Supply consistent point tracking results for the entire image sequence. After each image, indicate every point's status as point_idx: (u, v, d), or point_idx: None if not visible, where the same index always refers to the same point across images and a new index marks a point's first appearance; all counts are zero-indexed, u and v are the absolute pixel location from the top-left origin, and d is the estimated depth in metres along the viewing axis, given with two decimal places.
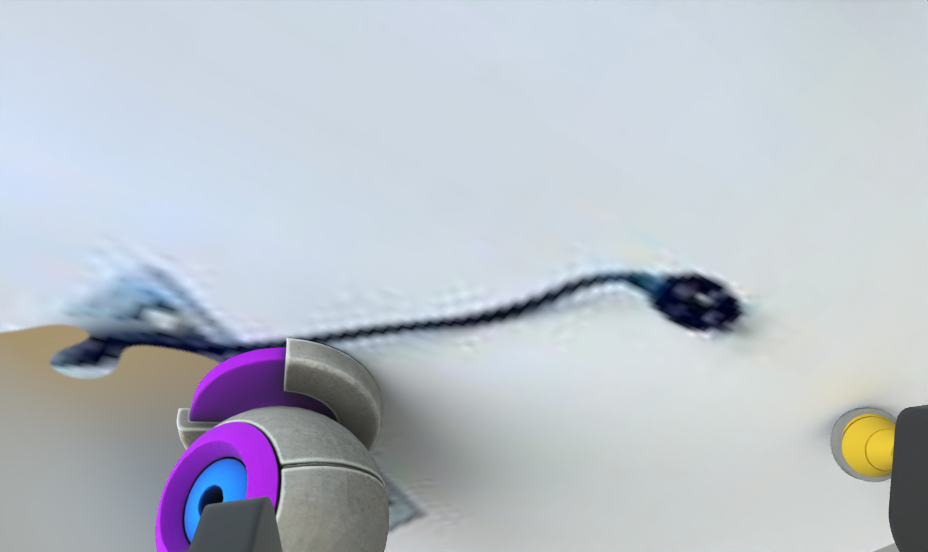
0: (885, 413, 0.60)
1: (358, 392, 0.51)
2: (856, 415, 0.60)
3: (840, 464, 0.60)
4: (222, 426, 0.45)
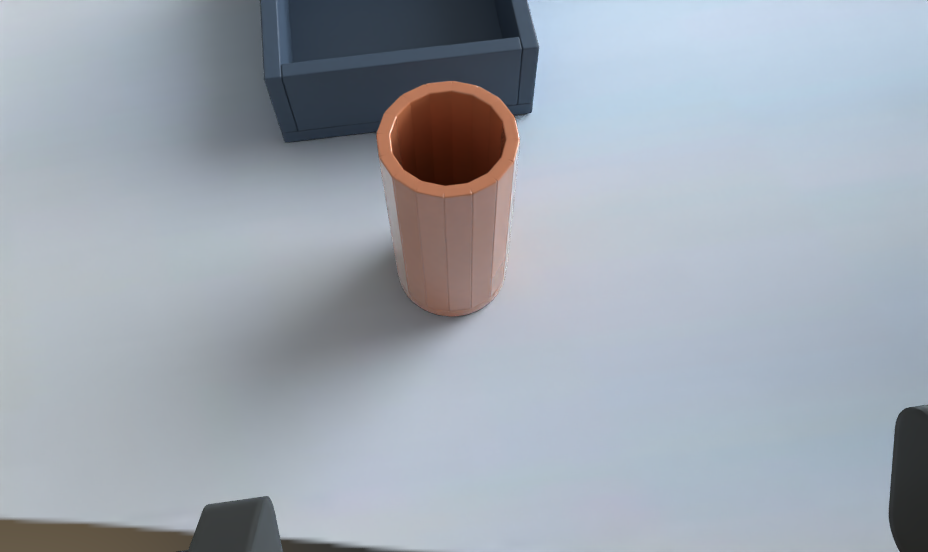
0: None
1: None
2: None
3: None
4: None
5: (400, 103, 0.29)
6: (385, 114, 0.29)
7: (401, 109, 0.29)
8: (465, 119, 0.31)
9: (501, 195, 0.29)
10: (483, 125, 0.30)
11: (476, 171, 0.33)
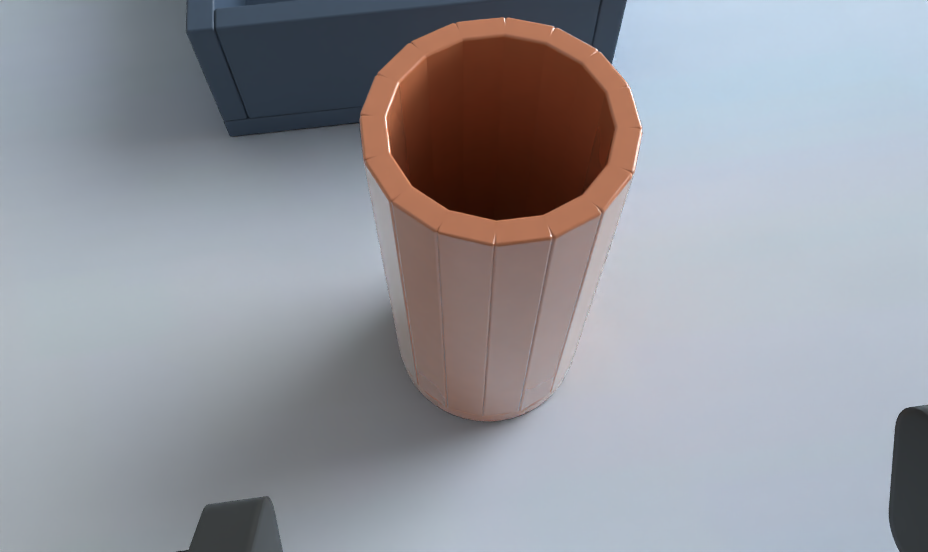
0: None
1: None
2: None
3: None
4: None
5: (407, 57, 0.15)
6: (378, 78, 0.15)
7: (408, 68, 0.15)
8: (526, 92, 0.17)
9: (601, 237, 0.15)
10: (560, 104, 0.16)
11: (536, 186, 0.19)
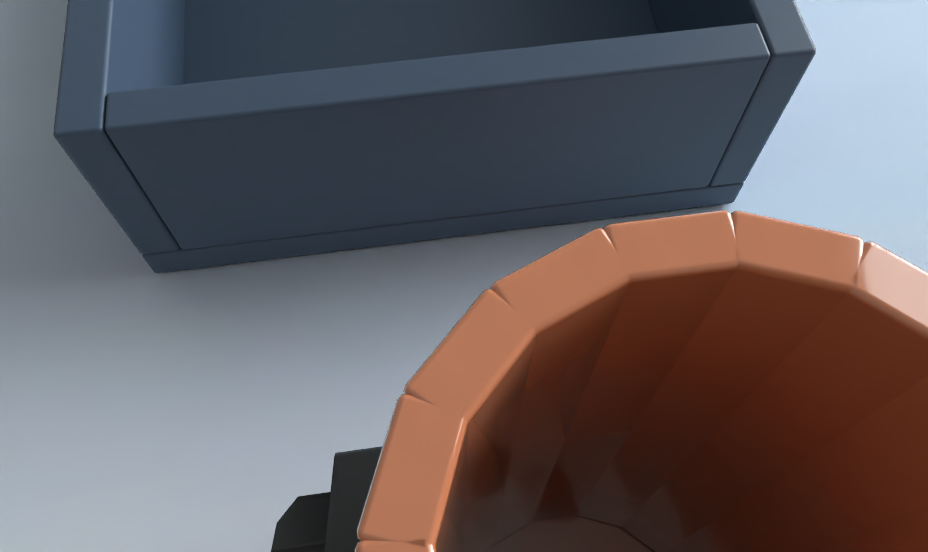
0: None
1: None
2: None
3: None
4: None
5: (486, 337, 0.06)
6: (407, 404, 0.05)
7: (487, 372, 0.05)
8: (748, 359, 0.07)
9: None
10: (838, 396, 0.07)
11: (706, 470, 0.10)
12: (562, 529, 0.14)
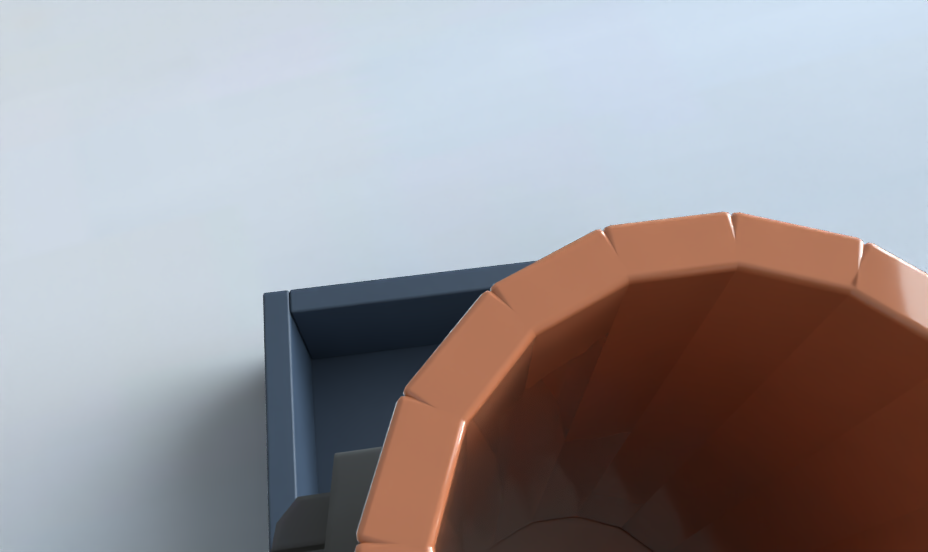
0: None
1: None
2: None
3: None
4: None
5: (485, 339, 0.06)
6: (407, 406, 0.05)
7: (489, 374, 0.05)
8: (748, 360, 0.07)
9: None
10: (840, 398, 0.07)
11: (706, 472, 0.10)
12: (562, 530, 0.14)
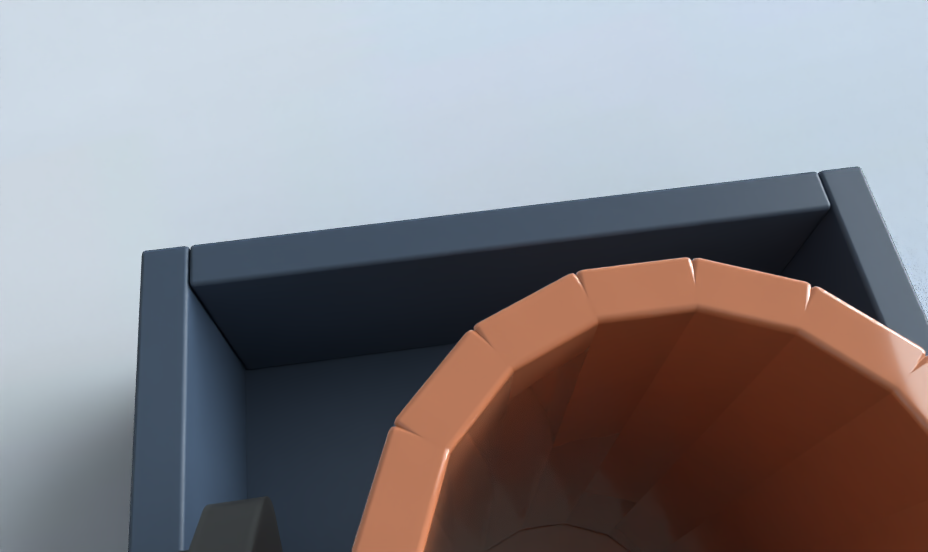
0: None
1: None
2: None
3: None
4: None
5: (468, 374, 0.06)
6: (397, 435, 0.06)
7: (470, 406, 0.06)
8: (712, 387, 0.08)
9: None
10: (793, 423, 0.07)
11: (682, 485, 0.10)
12: (551, 536, 0.15)
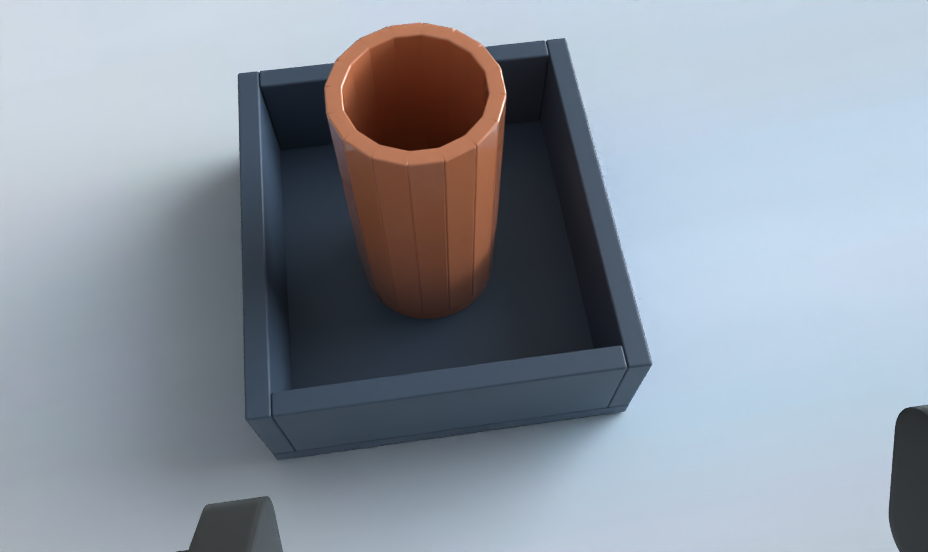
0: None
1: None
2: None
3: None
4: None
5: (356, 49, 0.23)
6: (337, 62, 0.23)
7: (356, 56, 0.23)
8: (440, 73, 0.25)
9: (482, 165, 0.23)
10: (462, 80, 0.24)
11: None
12: None
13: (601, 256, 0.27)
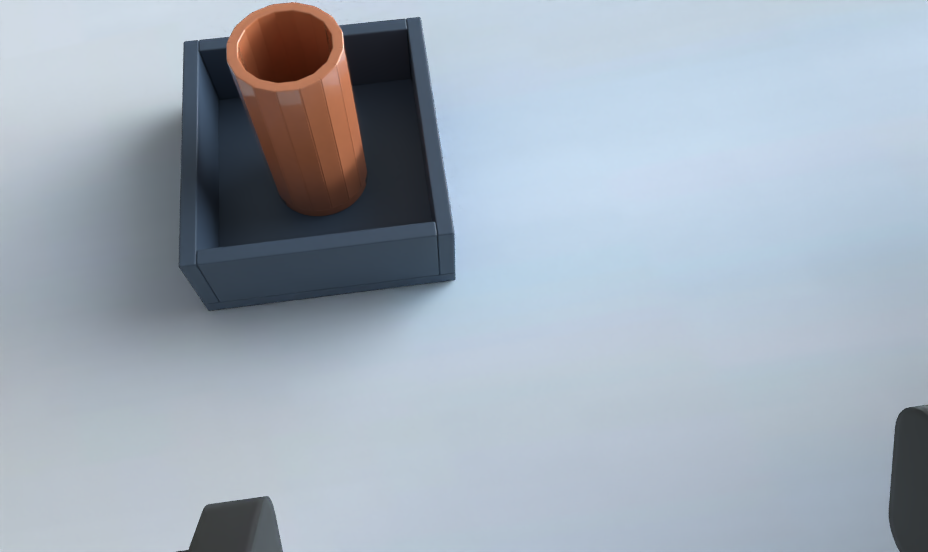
0: None
1: None
2: None
3: None
4: None
5: (249, 19, 0.35)
6: (236, 27, 0.35)
7: (248, 23, 0.35)
8: (309, 36, 0.37)
9: (329, 94, 0.35)
10: (323, 41, 0.37)
11: None
12: None
13: (427, 165, 0.39)
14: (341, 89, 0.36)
